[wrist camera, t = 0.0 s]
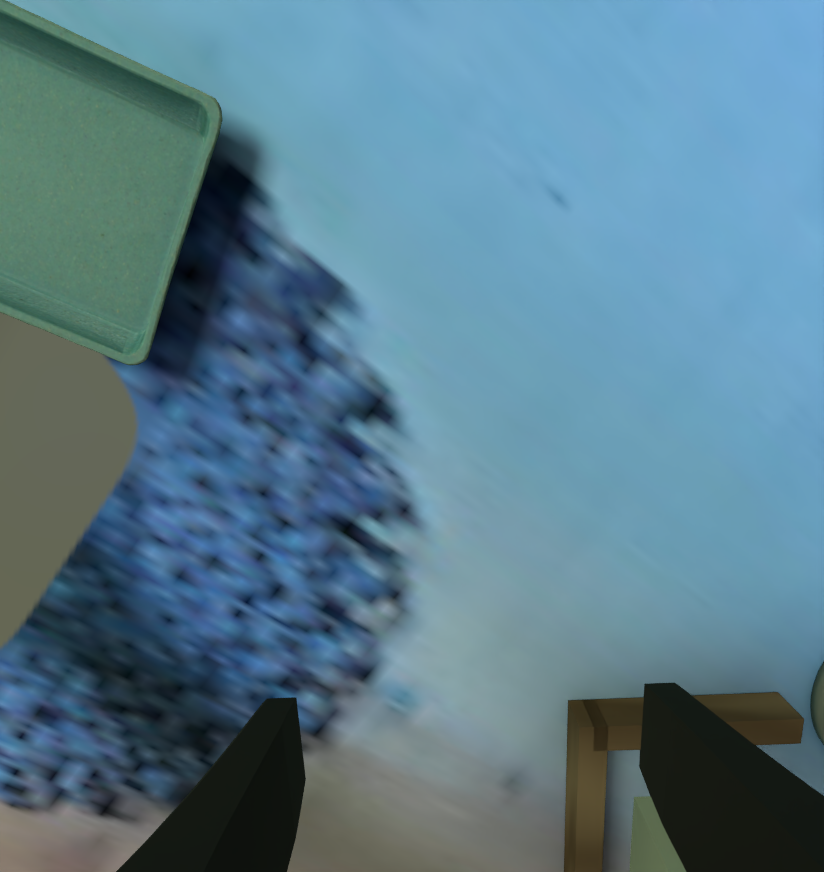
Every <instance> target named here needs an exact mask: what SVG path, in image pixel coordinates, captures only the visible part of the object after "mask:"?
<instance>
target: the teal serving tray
mask: <svg viewBox="0 0 824 872" xmlns="http://www.w3.org/2000/svg"><path fill="white" fill-rule="evenodd" d="M221 124H222V111H221V107H220V105H219V103H218V102H217V100H216V99H215V98H213V97H211V96H209V95H207V94H205V93H203V92H201V91H199V90H197V89H195V88H192V87H190V86H188V85H185V84H183V83H181V82H179V81H177V80H174V79H172V78H170V77H168V76H166V75H163V74H161V73H159V72H157V71H155V70H152V69H150V68H148V67H146V66H144V65H142V64H139V63H137V62H135V61H133V60H131V59H129V58H126V57H124V56H122V55H120V54H118V53H116V52H113V51H111V50H109V49H107V48H105V47H103V46H101V45H99V44H97V43H94V42H92V41H90V40H88V39H86V38H84V37H82V36H80V35H78V34H75V33H73V32H71V31H69V30H67V29H65V28H63V27H61V26H59V25H57V24H55V23H53V22H50V21H48V20H46V19H44V18H42V17H40V16H38V15H35V14H33V13H31V12H29V11H27V10H24V9H22V8H20V7H18V6H16V5H14V4H12V3H10V2H8V1H5V0H0V312H1V313H3V314H6V315H9V316H11V317H13V318H16V319H18V320H20V321H23V322H25V323H27V324H30V325H33V326H35V327H38V328H41V329H43V330H45V331H48V332H50V333H53V334H55V335H57V336H59V337H62V338H65V339H67V340H70V341H72V342H74V343H76V344H79V345H81V346H84V347H87V348H89V349H92V350H94V351H96V352H99V353H101V354H103V355H106V356H108V357H110V358H112V359H115V360H117V361H119V362H122V363H124V364H127V365H138V364H140V363H142V362H144V361H145V360H146V359H147V358H148V355H149V352H150V349H151V346H152V343H153V340H154V337H155V333H156V330H157V326H158V323H159V319H160V316H161V312H162V309H163V306H164V302H165V299H166V296H167V292H168V289H169V286H170V282H171V279H172V276H173V273H174V270H175V267H176V264H177V261H178V258H179V255H180V251H181V248H182V245H183V242H184V239H185V236H186V233H187V230H188V227H189V224H190V221H191V218H192V214H193V211H194V208H195V205H196V202H197V199H198V196H199V193H200V190H201V187H202V184H203V181H204V178H205V175H206V172H207V169H208V166H209V163H210V160H211V157H212V154H213V151H214V148H215V145H216V142H217V139H218V136H219V133H220V128H221Z"/></svg>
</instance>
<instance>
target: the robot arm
mask: <svg viewBox="0 0 824 872" xmlns="http://www.w3.org/2000/svg"><path fill="white" fill-rule="evenodd" d="M639 767H640V770H641V772H642V775H643V777H644V780H645V783H646V785H647V788H648V790H649V793H650V796H651V798H652V801H653V803H654V806H655V808H656V810H657V813H658V815H659V818H660V820H661V823H662V825H663V827H664V829H665V831H666V833H667V835H668V837H669V839H670V841H671V843H672V845H673V847H674V849H675V851H676V853H677V854H678V856H679V858H680V860H681V862H682V864H683V866H684V868H685V870H686V872H824V796H823V795H822V794H820V793H819V792H817V791H816V790H815V789H813V788H812V787H810V786H809V785H808V784H806V783H805V782H804V781H802V780H801V779H799V778H798V777H797V776H795V775H794V774H793V773H791V772H790V771H789V770H787V769H786V768H785V767H783V766H782V765H781V764H779V763H778V762H777V761H775V760H774V759H773V758H771V757H770V756H769V755H767V754H766V753H765V752H763V751H762V750H761V749H759V748H758V747H757V746H756V745H754V744H753V743H752V742H750V741H749V740H748V739H746V738H745V737H744V736H743V735H741V734H740V733H739V732H738V731H736V730H735V729H734V728H732V727H731V726H730V725H729V724H727V723H726V722H725V721H723V720H722V719H721V718H720V717H718V716H717V715H716V714H715V713H713V712H712V711H711V710H709V709H708V708H707V707H706V706H704V705H703V704H702V703H701V702H699V701H698V700H697V699H695V698H694V697H693V696H692V695H690V694H689V693H688V692H686V691H685V690H684V689H682V688H681V687H680V686H678V685H677V684H676V683H654V684H645V687H644V702H643V718H642V733H641V749H640V764H639ZM305 779H306V778H305V770H304V761H303V752H302V744H301V735H300V726H299V718H298V709H297V701H296V698H271V699H266V700H265V701H264V702H263V703H262V705H261V706H260V707H259V708H258V710H257V711H256V712H255V713H254V715H253V716H252V717H251V719H250V720H249V721H248V722H247V724H246V725H245V726H244V727H243V729H242V730H241V731H240V733H239V734H238V735H237V736H236V738H235V739H234V740H233V741H232V743H231V744H230V745H229V746H228V748H227V749H226V750H225V751H224V753H223V754H222V755H221V756H220V757H219V759H218V760H217V761H216V762H215V763H214V765H213V766H212V767H211V768H210V769H209V771H208V772H207V773H206V774H205V775H204V777H203V778H202V779H201V780H200V781H199V782H198V784H197V785H196V786H195V787H194V788H193V790H192V791H191V792H190V793H189V794H188V795H187V797H186V798H185V799H184V800H183V801H182V802H181V803H180V804H179V805H178V807H177V808H176V809H175V810H174V811H173V812H172V813H171V814H170V815H169V816H168V818H167V819H166V820H165V821H164V822H163V823H162V824H161V825H160V826H159V827H158V829H157V830H156V831H155V832H154V833H153V834H152V835H151V836H150V837H149V838H148V839H147V841H146V842H145V843H144V844H143V845H142V846H141V847H140V848H139V849H138V850H137V851H136V852H135V853H134V854H133V855H132V856H131V857H130V858H129V859H128V860H127V861H126V862H125V863H124V864H123V865H122V866H121V867H120V868H119V869H118V870H117V871H116V872H287V869H288V865H289V861H290V858H291V854H292V850H293V846H294V842H295V838H296V833H297V827H298V822H299V816H300V810H301V804H302V798H303V792H304V786H305Z"/></svg>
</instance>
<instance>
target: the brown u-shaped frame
mask: <svg viewBox="0 0 824 872" xmlns="http://www.w3.org/2000/svg"><path fill="white" fill-rule="evenodd" d="M693 697H694V698H695V699H697V700H698V701H699V702H701V703H702V704H703V705H704V706H706V707H707V708H708V709H709V710H711V711H712V712H713V713H715V714H716V715H717V716H718V717H720V718H721V719H722V720H723V721H725V722H726V723H727V724H729V725H730V726H731V727H732V728H734V729H735V730H736V731H738V732H739V733H740V734H741V735H743V736H744V737H745V738H746V739H748V740H749V741H750V742H752V743H753V744H754V745H771V744H797V743H801V737H802V730H803V724H804V718H803V717H802V716H801V715H800V714H799V713H798V712H797V711H796V710H795V709H794V708H793V707H792V706H791V705H790V704H789V703H788V702H787V701H786V700H785V699H784V698H783V697H782V696H781V695H780V694H779V693H778V692H770V693H745V694H720V695H695V696H693ZM643 702H644V698H619V699H594V700H568V728H567V770H566V812H565V854H564V872H602V860H603V838H604V816H605V794H606V772H607V751H614V750H640V749H641V733H642V718H643Z"/></svg>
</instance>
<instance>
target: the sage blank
mask: <svg viewBox="0 0 824 872" xmlns="http://www.w3.org/2000/svg"><path fill="white" fill-rule="evenodd" d="M630 872H686V870H685V868H684V866H683V864H682V862H681V860H680V858H679V856H678V854H677V853H676V851H675V849H674V847H673V845H672V843H671V841H670V839H669V837H668V835H667V833H666V831H665V829H664V827H663V825H662V823H661V820H660V818H659V815H658V813H657V810H656V808H655V806H654V803H653V801H652V798H651V796H646V797H634V807H633V823H632V839H631V856H630Z"/></svg>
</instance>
